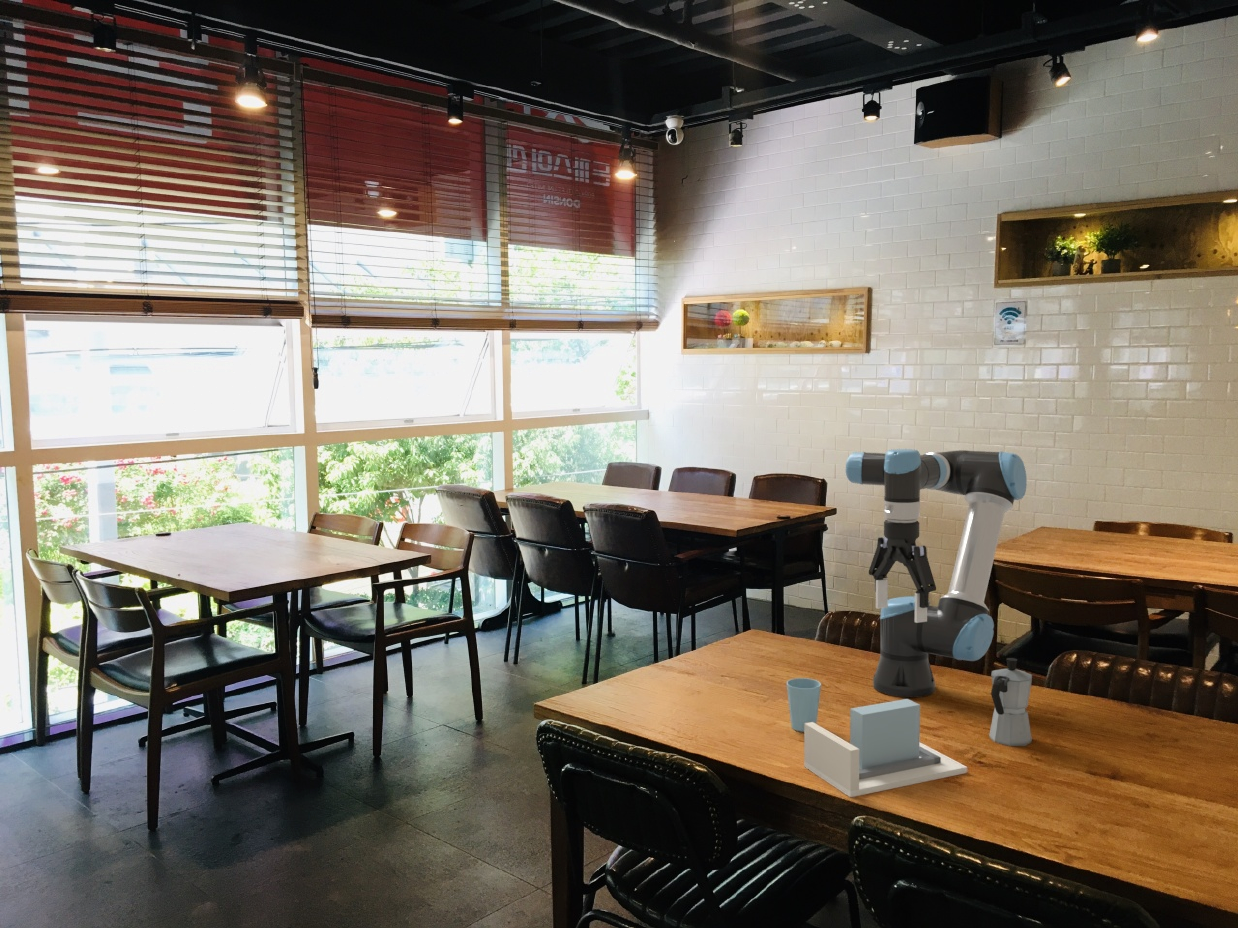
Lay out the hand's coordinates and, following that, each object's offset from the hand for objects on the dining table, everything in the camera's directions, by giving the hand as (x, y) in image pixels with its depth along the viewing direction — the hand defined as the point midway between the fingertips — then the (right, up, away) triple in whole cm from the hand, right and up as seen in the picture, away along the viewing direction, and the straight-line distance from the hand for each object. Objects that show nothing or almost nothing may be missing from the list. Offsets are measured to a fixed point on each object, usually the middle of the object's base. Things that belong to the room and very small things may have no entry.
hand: (900, 614), depth 220 cm
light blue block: (-8, -28, -18) cm, 34 cm away
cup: (-20, -27, +6) cm, 34 cm away
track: (-8, -29, -18) cm, 35 cm away
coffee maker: (+22, -27, -4) cm, 35 cm away
